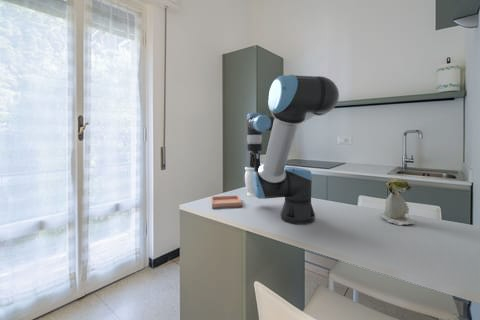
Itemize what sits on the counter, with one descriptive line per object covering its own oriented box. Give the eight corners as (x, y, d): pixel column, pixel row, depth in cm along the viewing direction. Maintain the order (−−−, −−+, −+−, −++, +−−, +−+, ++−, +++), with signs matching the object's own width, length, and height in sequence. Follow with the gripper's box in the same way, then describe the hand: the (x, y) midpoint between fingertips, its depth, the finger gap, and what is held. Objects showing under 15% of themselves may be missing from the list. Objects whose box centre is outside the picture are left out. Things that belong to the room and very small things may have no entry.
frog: (384, 224, 105) (386, 181, 103) (377, 214, 117) (379, 176, 115) (417, 227, 101) (420, 183, 99) (406, 216, 113) (409, 177, 111)
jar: (242, 196, 129) (242, 168, 127) (247, 192, 139) (247, 165, 137) (262, 198, 126) (262, 168, 124) (266, 193, 135) (266, 166, 134)
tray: (241, 206, 131) (241, 202, 131) (212, 208, 129) (212, 203, 128) (238, 199, 145) (238, 195, 145) (211, 200, 143) (211, 196, 143)
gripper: (267, 143, 119) (267, 189, 121) (256, 142, 141) (257, 180, 143) (251, 144, 117) (252, 190, 120) (243, 142, 140) (244, 181, 142)
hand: (254, 185), depth 131 cm, fingers closed on jar, 10 cm apart
